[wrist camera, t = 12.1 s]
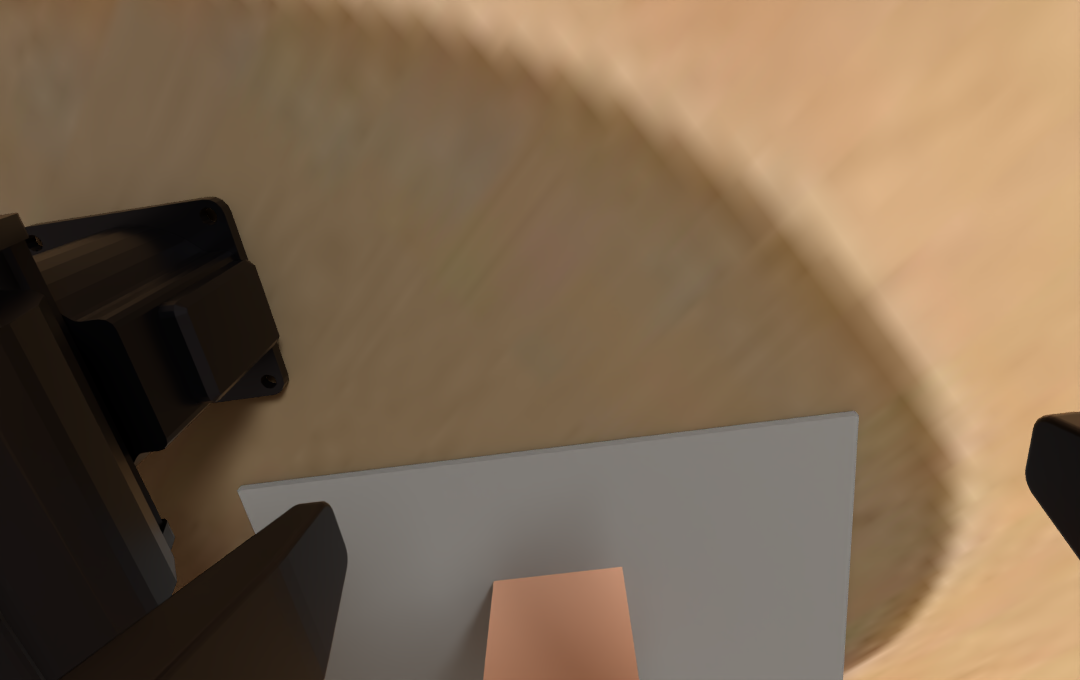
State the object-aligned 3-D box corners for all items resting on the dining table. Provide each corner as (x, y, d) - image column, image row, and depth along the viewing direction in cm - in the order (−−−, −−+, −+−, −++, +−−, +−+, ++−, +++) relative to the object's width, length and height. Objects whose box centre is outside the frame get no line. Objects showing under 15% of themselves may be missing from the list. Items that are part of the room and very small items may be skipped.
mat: (356, 764, 29) (355, 771, 29) (240, 485, 23) (237, 490, 22) (837, 722, 27) (839, 728, 27) (854, 411, 21) (858, 415, 21)
